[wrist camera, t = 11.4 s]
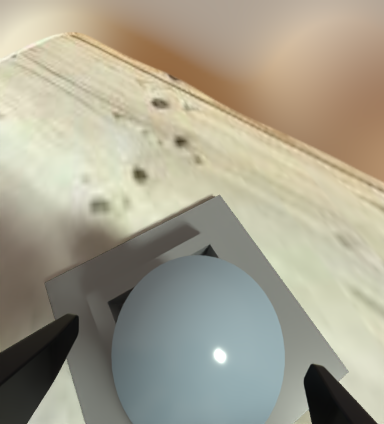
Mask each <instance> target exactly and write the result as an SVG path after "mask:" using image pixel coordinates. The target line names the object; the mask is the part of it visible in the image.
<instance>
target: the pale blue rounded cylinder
mask: <svg viewBox="0 0 384 424" xmlns="http://www.w3.org/2000/svg"><path fill="white" fill-rule="evenodd" d="M111 358H112V372H113V378H114V383H115V387H116V390H117V394H118V397H119V399H120V402H121V404H122V406H123V409H124V410H125V412H126V414H127V415H128V417H129V419H130V421H131V422H132V423H133V424H264V423H265V422H266V421H267V419H268V418H269V416H270V414H271V412H272V410H273V408H274V407H275V404H276V402H277V399H278V396H279V394H280V390H281V386H282V382H283V376H284V367H285V349H284V340H283V335H282V330H281V326H280V323H279V320H278V317H277V314H276V312H275V310H274V308H273V306H272V304H271V302H270V300H269V299H268V297H267V295H266V294H265V292H264V291H263V290H262V288H261V287H260V286H259V285H258V284H257V283H256V282H255V280H254V279H253V278H252V277H250V276H249V275H248V274H247V273H246V272H244V271H243V270H242V269H240V268H238V267H237V266H235V265H233V264H231V263H229V262H227V261H225V260H222V259H219V258H215V257H210V256H202V255H193V256H184V257H179V258H176V259H173V260H170V261H168V262H166V263H163V264H161V265H160V266H158V267H156V268H155V269H153V270H152V271H151V272H149V273H148V274H147V275H146V276H145V277H143V278H142V280H141V281H140V282H139V283H138V284H137V285H136V286H135V287H134V289H133V290H132V291H131V293H130V294H129V296H128V297H127V299H126V301H125V303H124V304H123V307H122V309H121V311H120V314H119V316H118V319H117V322H116V326H115V330H114V335H113V340H112V352H111Z"/></svg>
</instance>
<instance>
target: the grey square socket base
mask: <svg viewBox="0 0 384 424" xmlns="http://www.w3.org/2000/svg"><path fill="white" fill-rule="evenodd" d="M193 255H202V256H210V257H215V258H219V259H222V260H225V261H227V262H229V263H231V264H233V265H235V266H237V267H238V268H240V269H242V270H243V271H244V272H246V273H247V274H248V275H249V276H250V277H252V278H253V279H254V280H255V282H256V283H257V284H258V285H259V286H260V287H261V288H262V290H263V291H264V292H265V294H266V295H267V297H268V299H269V300H270V302H271V304H272V306H273V308H274V310H275V312H276V314H277V317H278V320H279V323H280V326H281V330H282V335H283V340H284V349H285V367H284V376H283V382H282V386H281V390H280V394H279V396H278V399H277V402H276V404H275V407H274V408H273V410H272V412H271V414H270V416H269V418H268V419H267V421H266V422H265V423H264V424H293V423H295V422H296V421H297V420H298V419H299V418H300V417H301V416H302V415H303V414H304V413H305V412H306V411H307V410H309V407H308V403H307V398H306V393H305V389H304V377H305V374H306V372H307V370H308V368H309V366H310V364H312V363H314V364H319V365H322V366H324V367H325V368H326V369H327V370H328V371H329V372H330V373H331V374H332V375H333V376H334V377H335V378H336V380H337V381H338V382H339V381H340V380H341V379H342V378H343V377H344V376H345V375H346V374H347V373H348V372H349V371H348V370H347V368H346V367H345V366H344V364H343V363H342V362H341V360H340V359H339V357H338V356H337V355H336V353H335V352H334V351H333V349H332V348H331V347H330V345H329V344H328V342H327V341H326V340H325V338H324V337H323V336H322V334H321V333H320V331H319V330H318V329H317V327H316V326H315V325H314V323H313V322H312V320H311V319H310V318H309V316H308V315H307V314H306V312H305V311H304V309H303V308H302V307H301V305H300V304H299V303H298V301H297V300H296V299H295V297H294V296H293V294H292V293H291V292H290V290H289V289H288V288H287V286H286V285H285V283H284V282H283V281H282V279H281V278H280V277H279V275H278V274H277V272H276V271H275V270H274V268H273V267H272V266H271V264H270V263H269V261H268V260H267V259H266V257H265V256H264V255H263V253H262V252H261V251H260V249H259V248H258V246H257V245H256V244H255V242H254V241H253V240H252V238H251V237H250V235H249V234H248V233H247V231H246V230H245V229H244V227H243V226H242V224H241V223H240V222H239V220H238V219H237V218H236V216H235V215H234V213H233V212H232V211H231V209H230V208H229V207H228V205H227V204H226V203H225V201H224V200H223V198H222V197H221V196H220V195H218V196H216V197H214V198H212V199H210V200H208V201H206V202H204V203H202V204H200V205H198V206H196V207H194V208H192V209H190V210H188V211H186V212H184V213H182V214H180V215H178V216H176V217H174V218H172V219H170V220H168V221H166V222H165V223H163V224H161V225H159V226H157V227H155V228H153V229H151V230H149V231H147V232H145V233H143V234H141V235H139V236H137V237H135V238H133V239H131V240H129V241H127V242H125V243H123V244H121V245H119V246H117V247H115V248H113V249H111V250H109V251H107V252H105V253H103V254H101V255H99V256H97V257H95V258H93V259H91V260H89V261H87V262H85V263H83V264H81V265H79V266H77V267H75V268H73V269H71V270H69V271H67V272H65V273H63V274H61V275H59V276H57V277H55V278H53V279H51V280H49V281H47V282H45V286H46V290H47V293H48V297H49V300H50V304H51V307H52V310H53V314H54V317H55V320H57V319H58V318H60V317H62V316H63V315H65V314H67V313H71V314H76V315H78V316H79V333H78V336H77V338H76V340H75V342H74V344H73V346H72V348H71V350H70V352H69V354H68V356H67V362H68V365H69V369H70V372H71V375H72V379H73V382H74V386H75V389H76V392H77V396H78V399H79V403H80V406H81V410H82V413H83V416H84V420H85V423H86V424H133V423H132V422H131V421H130V419H129V417H128V415H127V414H126V412H125V410H124V409H123V406H122V404H121V402H120V399H119V397H118V394H117V390H116V387H115V383H114V378H113V372H112V358H111V352H112V340H113V335H114V330H115V326H116V322H117V319H118V316H119V314H120V311H121V309H122V307H123V304H124V303H125V301H126V299H127V297H128V296H129V294H130V293H131V291H132V290H133V289H134V287H135V286H136V285H137V284H138V283H139V282H140V281H141V280H142V278H143V277H145V276H146V275H147V274H148V273H149V272H151V271H152V270H153V269H155V268H156V267H158V266H160V265H161V264H163V263H166V262H168V261H170V260H173V259H176V258H179V257H184V256H193Z"/></svg>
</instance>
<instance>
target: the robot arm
mask: <svg viewBox="0 0 384 424" xmlns="http://www.w3.org/2000/svg"><path fill="white" fill-rule="evenodd" d="M78 333H79V316H78V315H76V314H71V313H67V314H65V315H63V316H62V317H60V318H58V319H57V320H55V321H53V322H51V323H50V324H48V325H46V326H45V327H43V328H41V329H40V330H38V331H36V332H35V333H33V334H31V335H29V336H28V337H26V338H24V339H23V340H21V341H19V342H18V343H16V344H14V345H12V346H11V347H9V348H7V349H6V350H4V351H2V352H1V353H0V424H27V423H28V421H29V420H30V418H31V417H32V415H33V413H34V412H35V410H36V409H37V407H38V406H39V404H40V402H41V401H42V399H43V398H44V396H45V395H46V393H47V391H48V390H49V388H50V387H51V385H52V383H53V382H54V380H55V378H56V376H57V375H58V373H59V371H60V369H61V367H62V365H63V363H64V361H65V359H66V358H67V356H68V354H69V352H70V350H71V348H72V346H73V344H74V342H75V340H76V338H77V336H78ZM304 389H305V393H306V398H307V403H308V407H309V412H310V417H311V422H312V424H377V423H376V421H375V420H374V419H373V418H372V417H371V416H370V415H369V414H368V413H367V412H366V411H365V410H364V409H363V407H362V406H361V405H360V404H359V403H358V402H357V401H356V400H355V399H354V398H353V397H352V396H351V395H350V394H349V392H348V391H347V390H346V389H345V388H344V387H343V386H342V385H341V384H340V383H339V382H338V381H337V380H336V378H335V377H334V376H333V375H332V374H331V373H330V372H329V371H328V370H327V369H326V368H325V367H324V366H322V365H319V364H314V363H312V364H310V366H309V368H308V370H307V372H306V374H305V377H304Z"/></svg>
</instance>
